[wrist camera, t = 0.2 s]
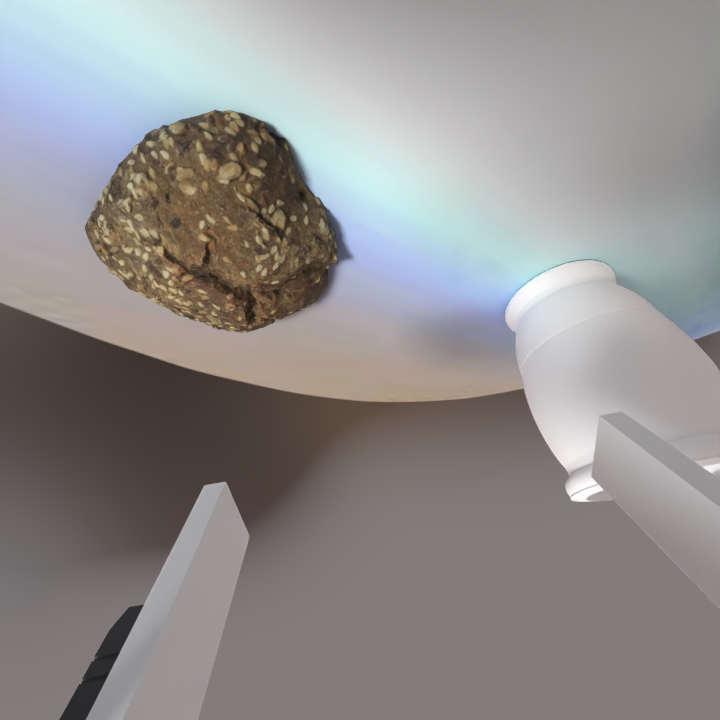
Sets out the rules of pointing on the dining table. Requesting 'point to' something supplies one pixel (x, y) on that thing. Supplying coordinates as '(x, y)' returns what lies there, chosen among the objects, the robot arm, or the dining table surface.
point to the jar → (609, 370)
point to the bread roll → (215, 224)
